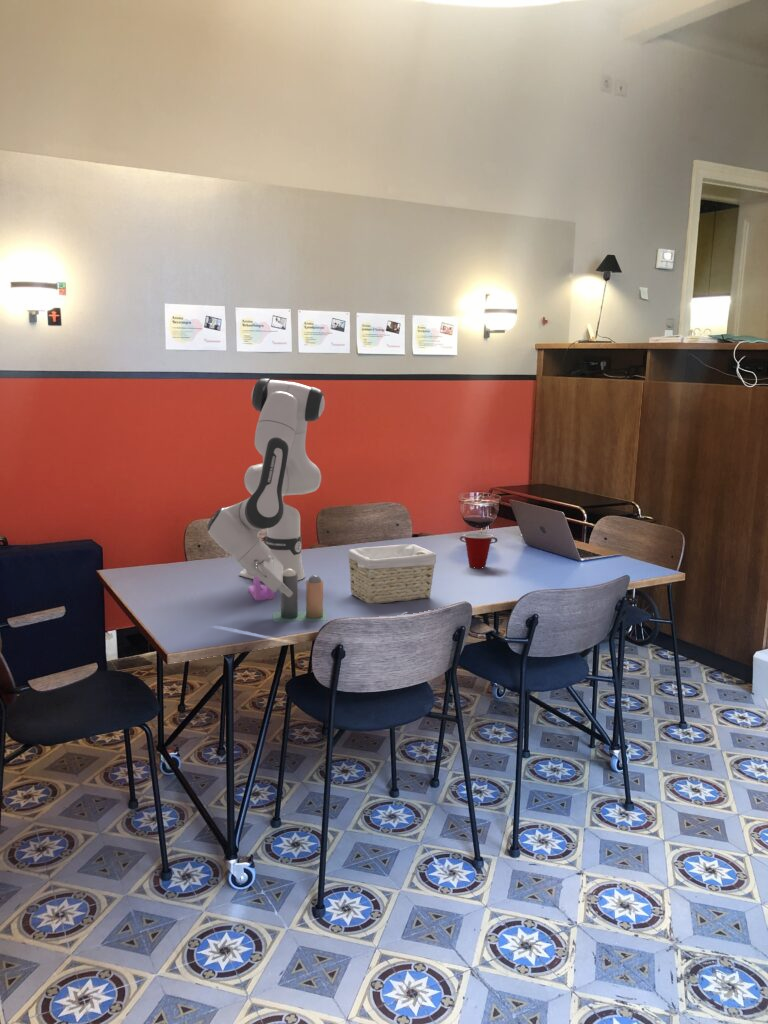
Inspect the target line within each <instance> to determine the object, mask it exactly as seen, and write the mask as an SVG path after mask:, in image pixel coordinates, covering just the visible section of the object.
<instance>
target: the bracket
mask: <svg viewBox="0 0 768 1024" xmlns="http://www.w3.org/2000/svg"><path fill="white" fill-rule="evenodd" d="M252 581H253V583H252V585H249V587H248V592H249V593H250V595H251V596H252V597H253V598H254V600H255V601H264V600H266V599H267V600H273V599H275V592H273V591H272V590H270V589H269V588H268V587H267V586H266V585H265V584H261V581H260V579H259V578H258V577H254V578H253V579H252Z"/></svg>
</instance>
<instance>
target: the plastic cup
mask: <svg viewBox="0 0 768 1024" xmlns="http://www.w3.org/2000/svg"><path fill="white" fill-rule="evenodd" d="M463 537H464V541H465V546H466V547H465V548H466V555H467V559H468V565H469V567H470V568H471V567H475V568H474V569H483V568H482V567H485V568H486V565H487V560H488V557H489V552H490V547H491V542H492V540H493V538H494V535H493V534H490V533H489V534H488V533H480V532H478V533H464V534H463Z"/></svg>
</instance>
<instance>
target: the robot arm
mask: <svg viewBox="0 0 768 1024" xmlns="http://www.w3.org/2000/svg"><path fill="white" fill-rule="evenodd" d="M251 390H252V391H251V405H252V407H253V408H254V410H255V411H258V412H259V413H260V414H259V415H258V421H257V423H256V428H255V433H254V447H255V449H256V451H257V452H258V453H259V454H260V455H261V456H262V463H257V464H255V465H254V464H253V465H250V466H249V467H248V468H247V469H246V472H245V474H244V479H243V480H244V481H243V482H244V486H245V489H246V490H247V492H248V493H249V494H250V495H251V496H249V497H248V498H246V499H244V500H242V501H240V502H238V503H234V504H233V505H230V506H226V507H220V508H218V509H217V510H216V511H215V512H214V513H213V515H212V516H211V518H210V520H209V522H208V523H207V532H208V534H209V536H210V537H211V538H212V540H214V541H215V542H216V544H218V546H219V547H221V549H223V551H225V552H227V553H229V554H230V555H231V556H232V557H233V559H234V560H235V562H236V563H238V564H239V565H240V566H241V567H242V568H243V569H242V570H241V571H240V572H239V576H241V577H243V578H247V579H250V580H253V578H254V577H258V578H259V579H260V582H262V583H263V585H265V586H267V587H268V588H269V589H270V590H272V591H273V592H274V593H275V592H277V591H279V592H280V593H281V592H282V593H284V594H285V595H286V596H287V597H290V596H291V595H293V591H292V590H291V589H290V588H288V587H287V586H286V585H285V584H284V583H283V572H284V571H285V570H286V569H288V568H290V569H293V570H294V571H295V573H296V574H298V581H300V580H302V579H304V578H306V574H305V571H304V570H305V569H304V566H303V559H302V558H303V557H302V546H303V545H302V541H303V540H302V535H301V515H300V512H299V510H298V509H296V508H295V507H293V506H291V505H289V504H286V503H285V502H284V496H292V495H293V496H295V495H296V496H297V495H307V494H309V493H314V492H316V491H317V490H318V489H319V487H320V485H321V484H322V474H321V473H322V472H321V470H320V468H319V467H318V466H317V464H315V463H314V462H313V461H311V460H310V458H309V457H308V454H307V451H306V438H307V429H308V422H309V423H310V422H315V421H317V420H319V419H320V417H321V415H322V414H323V412H324V410H325V407H326V406H325V405H326V404H325V403H326V402H325V394H324V392H323V391H322V390H321V389H320V388H317V387H314V386H308V385H305V384H302V383H299V382H294V381H287V380H277V379H272V378H260V379H259V380H257V381H256V382H255V384H254V386H253V388H252V389H251ZM265 529H266V533H267V534H266V535H265V536H264V537H261V538H260V537H258V533H259V532H260V531H262V530H265Z"/></svg>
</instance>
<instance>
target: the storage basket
mask: <svg viewBox="0 0 768 1024" xmlns="http://www.w3.org/2000/svg"><path fill="white" fill-rule="evenodd" d="M347 557H348V563H349V575H350V579H349V580H350V592H351V595H353V596H355V597H356V598H357V599H359V600H361V601H364V602H366V603H367V604H384V603H385V604H386V603H393V602H407V601H408V602H409V601H411V600H417V599H418V600H419V599H427V598H430V597H431V591H432V590H431V589H432V585H433V577H434V571H435V570H434V569H435V565H436V562H437V554H436V553H435V552H434V551H431V550H429V549H427V548H424V547H421V546H419V545H417V544H415V543H414V544H413V543H412V544H393V545H383V546H381V545H380V546H368V547H364V546H363V547H357V548H350V549H349V550H348V556H347Z"/></svg>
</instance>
